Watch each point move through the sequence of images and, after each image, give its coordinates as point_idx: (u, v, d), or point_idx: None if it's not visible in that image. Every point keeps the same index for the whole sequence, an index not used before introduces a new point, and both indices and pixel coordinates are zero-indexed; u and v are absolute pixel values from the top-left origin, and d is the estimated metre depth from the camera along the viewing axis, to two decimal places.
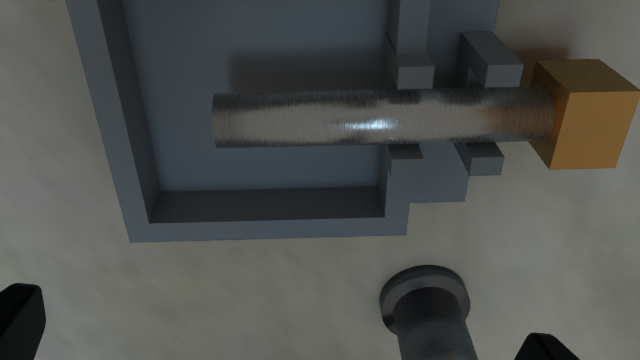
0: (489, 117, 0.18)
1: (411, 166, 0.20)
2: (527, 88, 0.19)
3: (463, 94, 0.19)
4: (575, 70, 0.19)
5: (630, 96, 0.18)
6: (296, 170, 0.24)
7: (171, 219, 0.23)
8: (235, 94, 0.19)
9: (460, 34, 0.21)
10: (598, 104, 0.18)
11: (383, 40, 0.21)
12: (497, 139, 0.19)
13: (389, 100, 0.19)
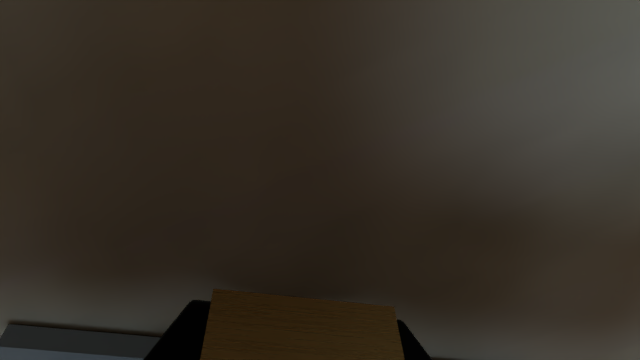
0: None
1: None
2: None
3: None
4: None
5: None
6: None
7: None
8: None
9: None
10: None
11: None
12: None
13: None
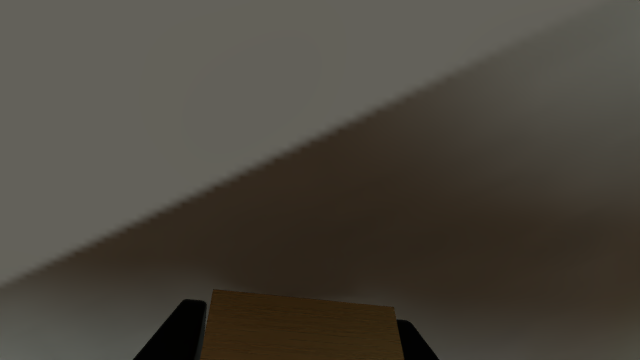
0: None
1: None
2: None
3: None
4: None
5: None
6: None
7: None
8: None
9: None
10: None
11: None
12: None
13: None
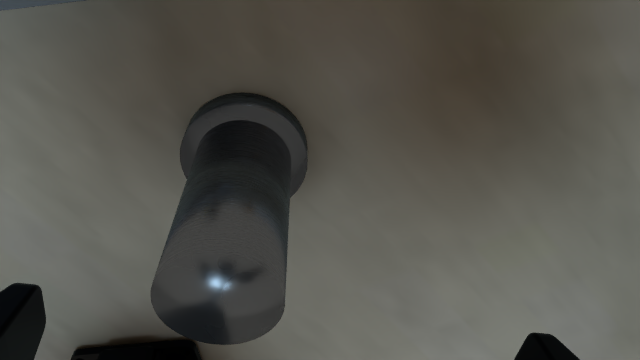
0: None
1: None
2: None
3: None
4: None
5: None
6: None
7: None
8: None
9: None
10: None
11: None
12: None
13: None
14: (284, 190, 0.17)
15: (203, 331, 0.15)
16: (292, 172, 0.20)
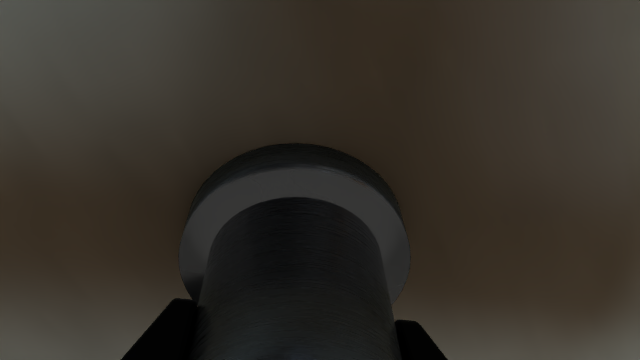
0: None
1: None
2: None
3: None
4: None
5: None
6: None
7: None
8: None
9: None
10: None
11: None
12: None
13: None
14: None
15: None
16: None
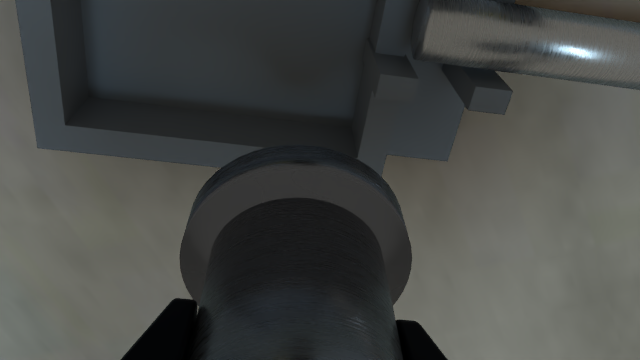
0: None
1: (402, 87, 0.16)
2: None
3: None
4: None
5: None
6: (258, 93, 0.20)
7: (95, 125, 0.18)
8: None
9: None
10: None
11: None
12: None
13: (632, 29, 0.16)
14: None
15: None
16: None
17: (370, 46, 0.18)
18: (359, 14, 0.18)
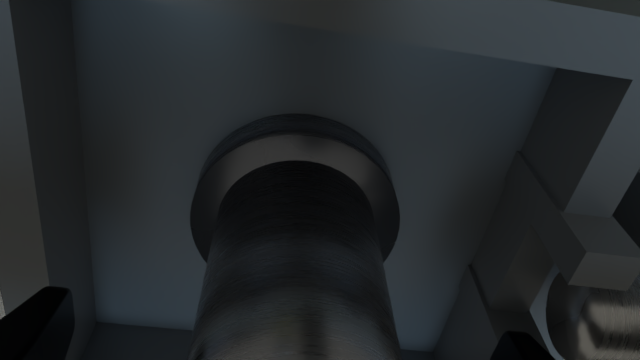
0: None
1: None
2: None
3: None
4: None
5: None
6: None
7: None
8: None
9: None
10: None
11: (510, 160, 0.13)
12: None
13: None
14: None
15: None
16: None
17: (478, 290, 0.14)
18: (461, 241, 0.14)
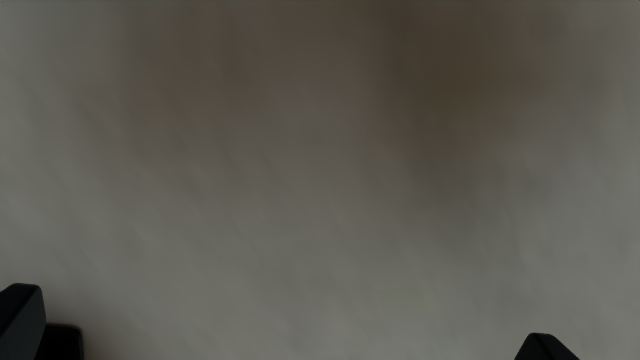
0: None
1: None
2: None
3: None
4: None
5: None
6: None
7: None
8: None
9: None
10: None
11: None
12: None
13: None
14: None
15: None
16: None
17: None
18: None
